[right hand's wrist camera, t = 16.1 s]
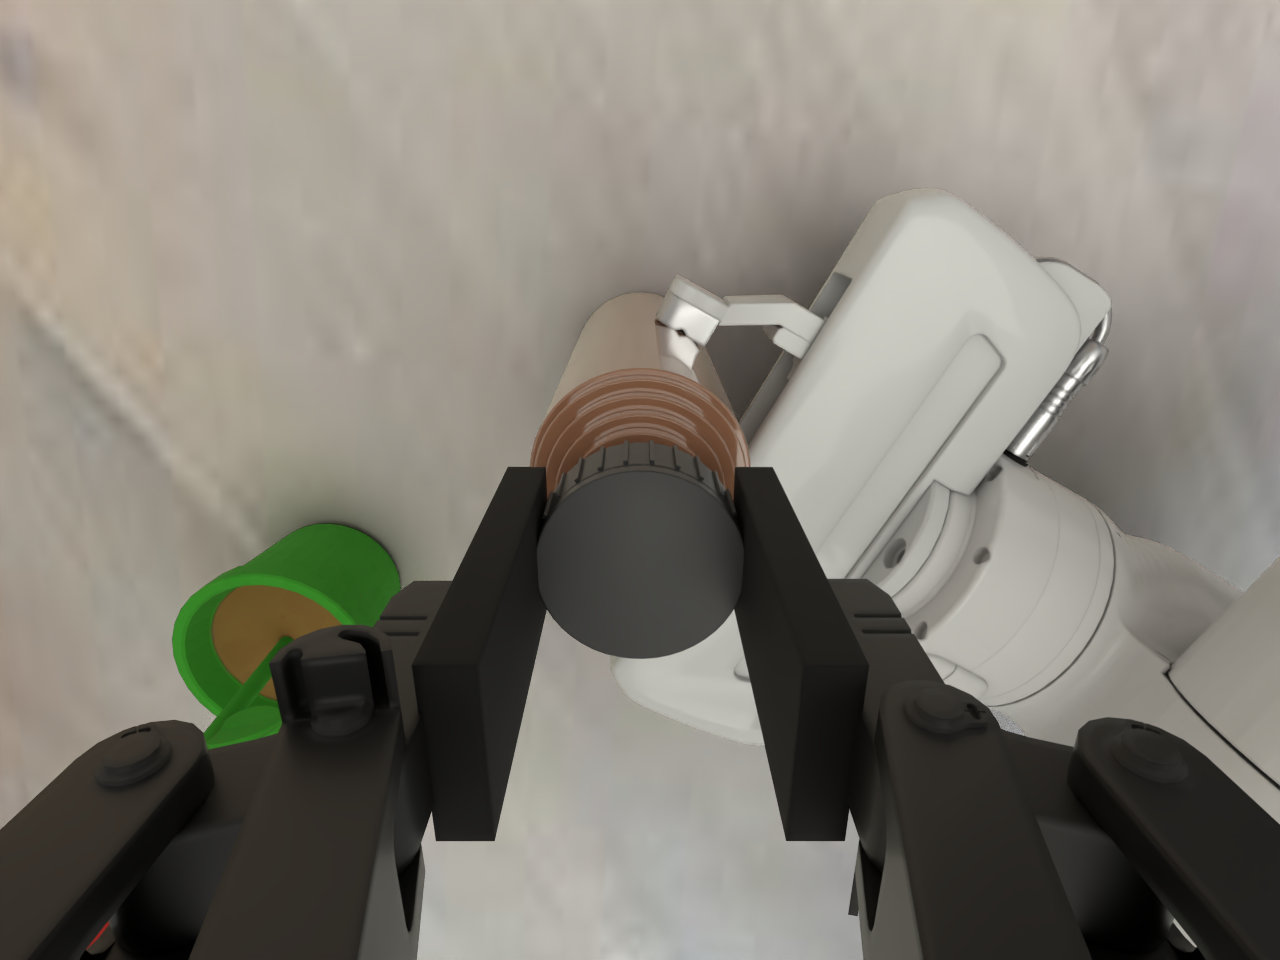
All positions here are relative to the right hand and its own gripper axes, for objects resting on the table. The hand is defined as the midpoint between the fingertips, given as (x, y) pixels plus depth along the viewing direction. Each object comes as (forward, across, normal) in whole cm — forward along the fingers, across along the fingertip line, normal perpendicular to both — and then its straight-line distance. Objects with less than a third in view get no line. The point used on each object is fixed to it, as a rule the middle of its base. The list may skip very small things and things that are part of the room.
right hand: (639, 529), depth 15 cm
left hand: (+10, -1, 0) cm, 10 cm away
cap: (-1, 0, 0) cm, 1 cm away
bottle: (+17, 0, 0) cm, 17 cm away
